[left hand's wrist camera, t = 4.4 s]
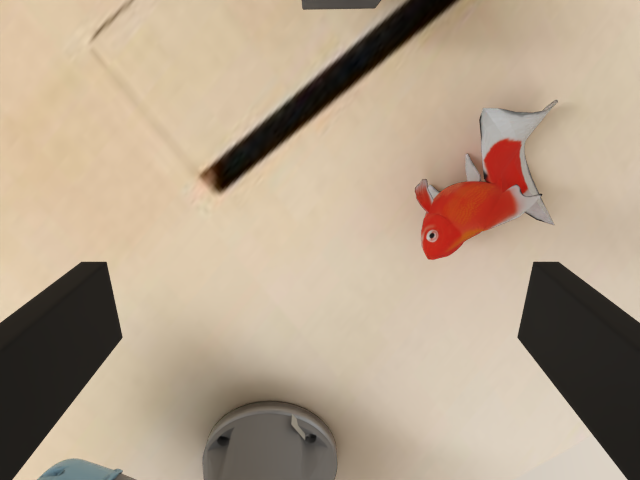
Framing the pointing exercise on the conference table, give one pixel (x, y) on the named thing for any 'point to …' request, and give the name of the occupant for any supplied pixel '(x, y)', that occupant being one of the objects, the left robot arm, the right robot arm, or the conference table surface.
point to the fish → (485, 186)
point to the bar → (339, 4)
